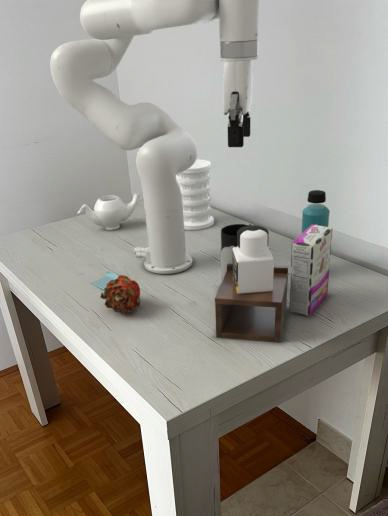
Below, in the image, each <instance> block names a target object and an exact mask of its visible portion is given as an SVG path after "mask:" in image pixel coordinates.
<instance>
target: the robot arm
mask: <svg viewBox="0 0 388 516" xmlns="http://www.w3.org/2000/svg"><path fill="white" fill-rule="evenodd" d="M259 4H260V0H85V1H84V3H83V4H82V6H81V8H80V12H79V21H80V25H81V27H82V29H83V30H84V32H85V33H86V34H87V35H88V36H90V37H91V38H87V39H81V40H79V39H78V40H73V41H68V42H65V43H63V44H61V45H58V46H57V47H56V48H55V49H54V50H53V52H52V54H51V56H50V61H49V68H50V75H51V78H52V81H53V84H54V86H55V88H56V90H57V92H58V93H59V95H60V96H61V97H62V99H63V100H64V101H65V102H66V103H67V104H68V105H70V106H71V107H72V108H73V109H74V110H76V111H77V112H78V113H80V114H81V115H82V116H83V117H85V118H86V119H87V120H88V121H89V122H91V124H92V125H93V126H94V127H95V128H97V130H99V131H100V132H101V133H102V134H103V135H104V136H105V137H107V139H109V140H110V141H111V142H112V143H114V145H115V146H117V147H118V148H119V149H120V150H123V151H132V150H136V149H138V151H137V153H136V157H135V166H136V170H137V171H136V172H137V174H138V178H139V182H140V185H141V190H142V197H143V207H144V214H145V215H144V216H145V226H146V233H147V245H148V246H146V247H141V246H139V247H138V246H135V247H134V250H133V252H134V255H135V257H136V258H140V259H141V258H142V259H143V258H144V261H143V265H144V268H145V270H147V271H149V272H151V273H154V274H160V275H171V274H177V273H181V272H184V271H186V270H188V269H189V268H190V267H192V265H193V258H192V256H191V255H190V254H189V253H187V249H186V233H185V229H184V215H183V201H182V193H181V189H180V187H179V184H178V182H177V179H176V176H177V174H179V173H181V172H183V171H185V170H187V169H188V168H190V167H191V166H192V165H193V164H194V163H195V161H196V159H198V146H197V144H196V141H195V140H194V138H193V137H192V135H190V133H189V132H188V131H187V130H186V129H184V128H183V127H182V126H181V125H180V124H179V123H178V122H177V121H176V120H175V119H173V118H172V117H171V115H169V114H167V112H165V111H164V110H163V109H162V108H160V107H159V106H158V105H156V104H153V103H151V102H138V103H135V104H127V103H126V102H124V101H123V100H122V99H120V98H119V97H118V96H117V95H116V94H115V93H113V92H112V90H110V89H109V88H107V87H106V86H103V85H102V84H99V83H98V82H95V81H94V80H97V79H103V78H106V77H108V76H110V75H111V74H112V73H114V71H116V69H117V68H118V66H119V64H120V63H121V61H122V59H123V57H124V55H125V54H126V52H127V50H128V48H129V46H130V45H131V43H132V41H133V39H134V37H135V36H142V35H149V34H151V33H153V32H154V31H157V30H163V29H168V28H176V27H183V26H184V27H185V26H192V25H197V24H198V25H199V24H208V23H214V22H218V23H219V61H221V62H223V71H222V76H223V77H222V114H223V116H227V115H228V118H227V119H228V120H227V147H228V148H243V147H244V138H249V137H250V136H251V109H252V105H253V89H254V88H253V83H254V82H253V76H254V73H253V71H254V69H253V68H254V66H253V61H255V60H258V59H259V16H260V15H259V13H260V12H259V11H260V10H259V9H260V8H259V6H260V5H259Z"/></svg>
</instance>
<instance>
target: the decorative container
mask: <svg viewBox="0 0 388 516" xmlns="http://www.w3.org/2000/svg"><path fill="white" fill-rule="evenodd" d="M211 168H212V162H211V161H210V160H207V159H202V158H201V159H199V158H197V159H196V161H195V163H194V164H193V165H192V166H191V167H190V168H188V169H187V170H185V171H183V172H181V173H179V174H177V175H176V179H177V182H178V184H179V187H180V189H181V193H182V201H183V215H184V230H188V231H198V230H205V229H209V228H210V227H212V226H213V225H214V223H215V219H214V216H212V215H211V212H212V206H211V199H212V198H211V195H210V191H211V185H210V179H211V176H210V171H209V170H211Z"/></svg>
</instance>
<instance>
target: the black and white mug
mask: <svg viewBox="0 0 388 516" xmlns="http://www.w3.org/2000/svg"><path fill="white" fill-rule="evenodd" d="M249 225H252V223H251V222H246V224H245V223H233V224H229V225H225V226H223V227H222V228H221V229H220V244H221V246H220V276H221V277H220V279H221V280H220V281H221V282H220V284H221V283H222V281H223V278H224V276H225V274H226V271H227V264H233V255H232V249H233V248H234V247H237V231H238V230H239V229H240V228H242V227H245V226H249Z"/></svg>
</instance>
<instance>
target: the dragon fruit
mask: <svg viewBox="0 0 388 516" xmlns="http://www.w3.org/2000/svg"><path fill="white" fill-rule="evenodd" d="M105 286H106V287H104V288H103V292H101V293H100V299H102V300H105V302H104V307H106V308H107V309H111V310H113V311H114V312H117V313H120V314H129V313H131V312H132V311H133V310H134V309H135V308H136V307H137V308H138V307H140V305H141V297H140V296H141V289H140V285H139V283H138V282H137V281H136V280H132V279H131V278H129V277H128V276H127V275H123V274H119V275H118V276H117V278H115V279H110V280H109V281H108V282H107V283H106V285H105Z"/></svg>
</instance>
